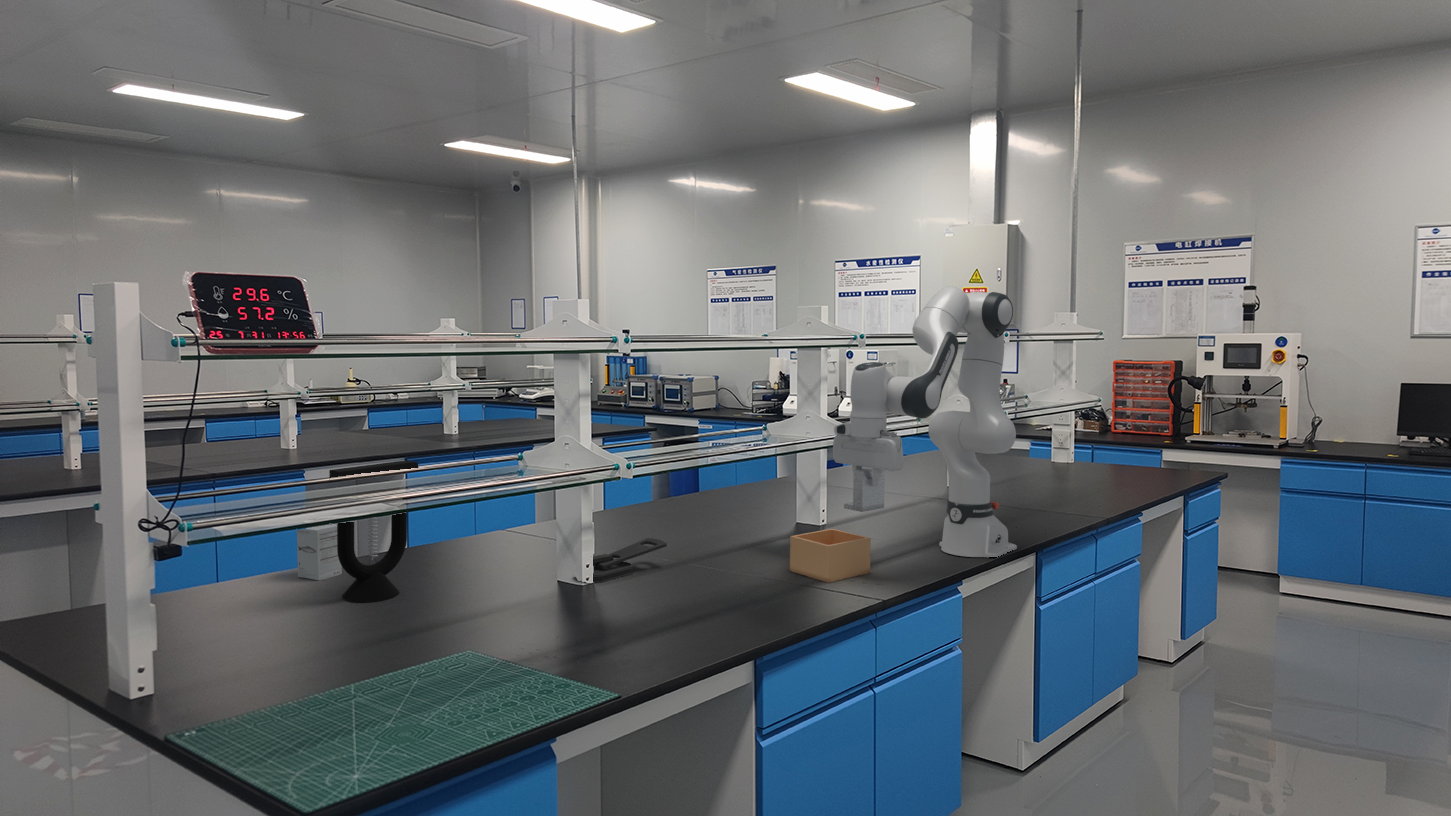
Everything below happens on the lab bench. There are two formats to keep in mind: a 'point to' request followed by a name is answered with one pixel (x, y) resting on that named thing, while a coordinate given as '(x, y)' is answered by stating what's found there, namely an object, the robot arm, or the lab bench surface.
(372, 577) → the spring support
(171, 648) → the lab bench surface
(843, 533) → the open box
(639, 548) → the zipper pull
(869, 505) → the aluminium bracket
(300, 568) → the supplement box
